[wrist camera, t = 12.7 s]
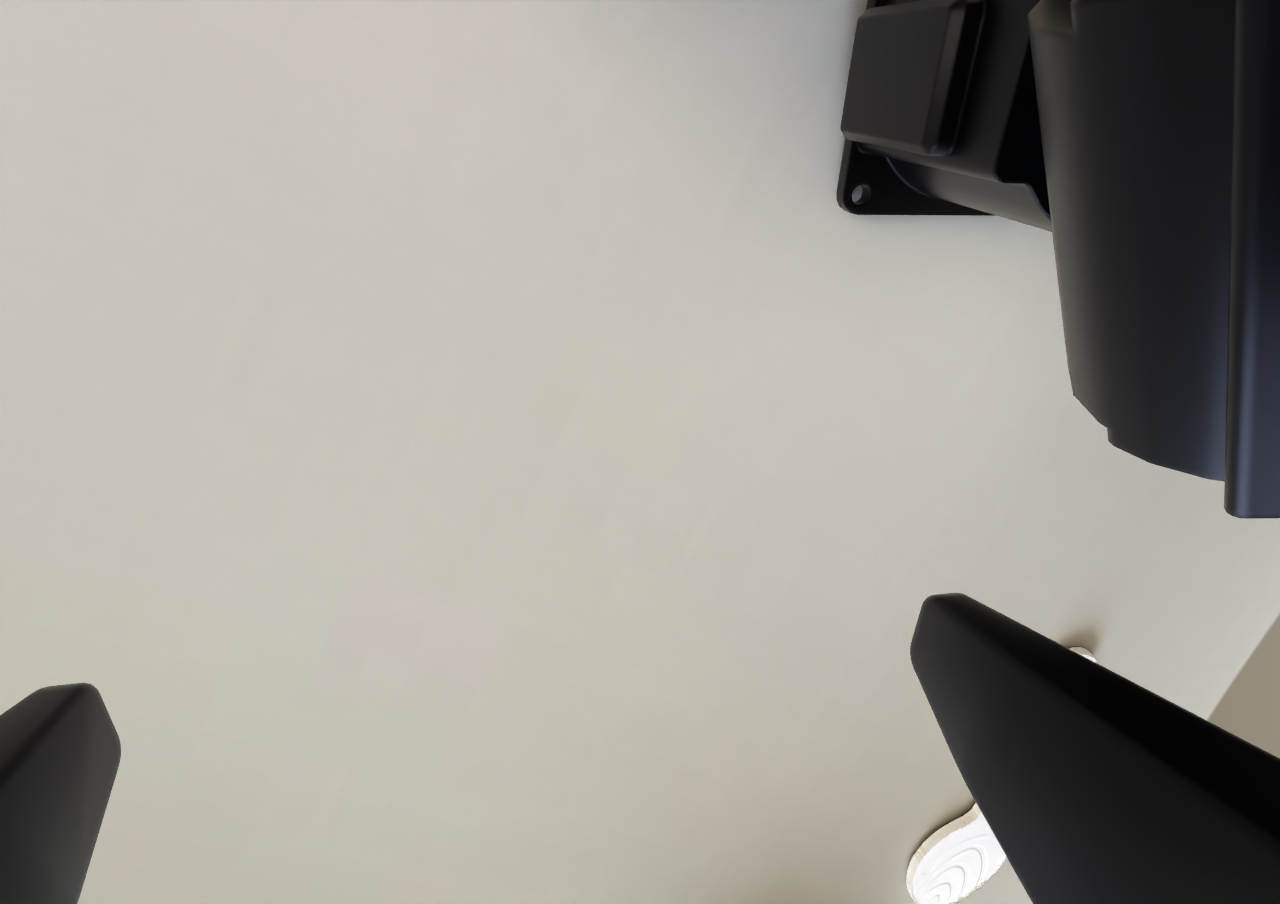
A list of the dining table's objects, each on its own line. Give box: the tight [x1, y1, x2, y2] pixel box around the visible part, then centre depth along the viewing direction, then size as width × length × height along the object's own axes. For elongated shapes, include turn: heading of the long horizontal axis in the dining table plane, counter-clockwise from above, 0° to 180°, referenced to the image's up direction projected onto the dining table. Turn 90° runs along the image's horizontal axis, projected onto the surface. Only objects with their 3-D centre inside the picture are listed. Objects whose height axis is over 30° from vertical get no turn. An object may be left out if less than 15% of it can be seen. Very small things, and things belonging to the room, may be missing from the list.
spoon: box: [906, 647, 1097, 904], centre depth 34 cm, size 5×18×1 cm, turn 171°
